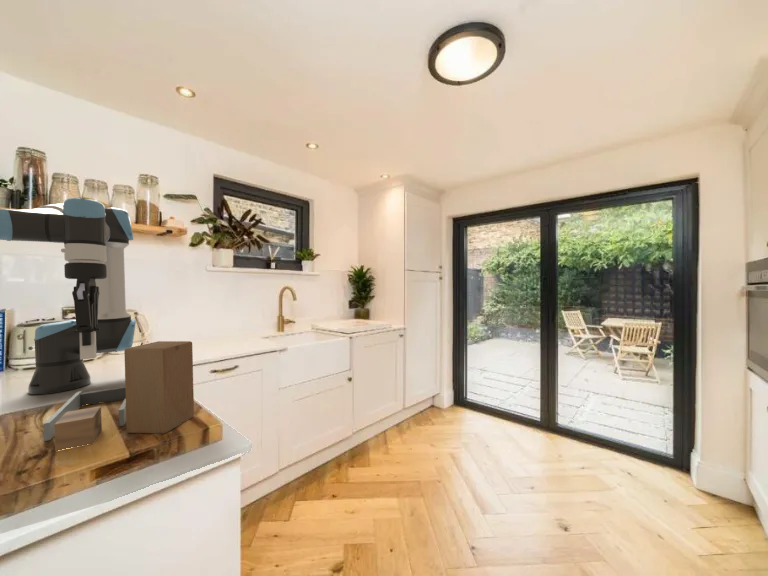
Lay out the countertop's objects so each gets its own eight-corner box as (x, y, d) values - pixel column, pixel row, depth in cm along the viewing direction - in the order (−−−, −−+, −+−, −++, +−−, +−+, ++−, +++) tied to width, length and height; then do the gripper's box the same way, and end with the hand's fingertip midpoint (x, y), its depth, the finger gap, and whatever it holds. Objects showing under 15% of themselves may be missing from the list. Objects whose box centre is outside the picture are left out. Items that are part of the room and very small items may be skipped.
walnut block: (67, 437, 72) (66, 411, 72) (101, 430, 75) (101, 405, 75) (55, 452, 65) (54, 424, 65) (93, 444, 69) (93, 417, 68)
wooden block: (194, 416, 82) (193, 341, 82) (164, 434, 72) (162, 348, 72) (160, 415, 83) (158, 341, 83) (125, 433, 73) (123, 348, 73)
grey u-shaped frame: (77, 405, 92) (77, 391, 92) (137, 395, 100) (137, 382, 100) (43, 441, 70) (43, 423, 70) (124, 425, 78) (123, 409, 78)
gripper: (73, 264, 80) (75, 356, 80) (55, 260, 69) (57, 365, 69) (111, 265, 84) (113, 352, 84) (100, 260, 73) (102, 360, 73)
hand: (88, 358), depth 77 cm, fingers closed
